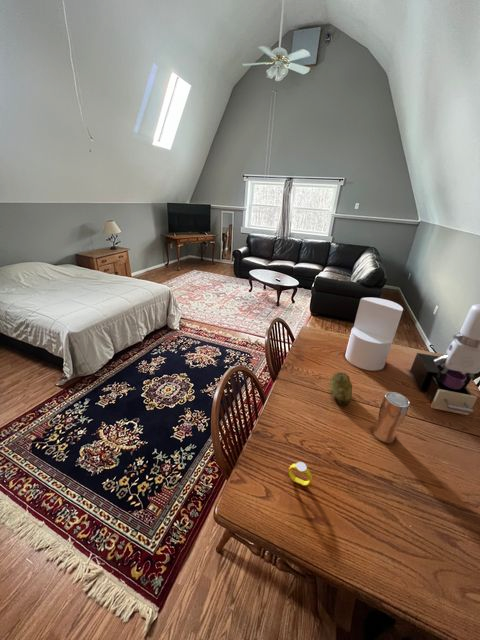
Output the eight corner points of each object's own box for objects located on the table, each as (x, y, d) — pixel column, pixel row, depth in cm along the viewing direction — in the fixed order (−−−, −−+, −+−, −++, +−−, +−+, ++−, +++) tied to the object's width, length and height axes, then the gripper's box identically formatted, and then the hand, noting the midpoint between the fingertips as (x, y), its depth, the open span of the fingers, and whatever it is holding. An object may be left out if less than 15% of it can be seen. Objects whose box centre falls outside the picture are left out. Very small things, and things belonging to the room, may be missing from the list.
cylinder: (355, 346, 137) (369, 294, 125) (390, 361, 126) (409, 306, 114) (338, 358, 126) (351, 303, 115) (375, 375, 115) (393, 316, 103)
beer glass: (391, 448, 82) (407, 411, 75) (368, 435, 86) (381, 398, 79) (398, 435, 86) (413, 399, 80) (375, 423, 90) (388, 388, 84)
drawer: (474, 424, 91) (484, 407, 87) (436, 416, 93) (444, 399, 90) (452, 392, 106) (460, 376, 103) (420, 385, 109) (427, 370, 105)
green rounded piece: (325, 402, 98) (329, 385, 95) (330, 383, 109) (334, 367, 106) (348, 410, 95) (353, 393, 92) (351, 389, 106) (356, 373, 102)
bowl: (456, 380, 100) (461, 370, 98) (465, 392, 94) (470, 381, 92) (436, 376, 102) (440, 366, 100) (443, 388, 96) (448, 377, 94)
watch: (311, 482, 71) (314, 467, 68) (308, 491, 68) (312, 476, 66) (289, 471, 73) (292, 456, 71) (286, 480, 71) (288, 465, 68)
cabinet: (456, 398, 104) (466, 378, 100) (419, 391, 107) (428, 371, 103) (442, 376, 116) (450, 358, 112) (410, 371, 119) (417, 352, 115)
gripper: (446, 341, 89) (427, 384, 97) (508, 350, 85) (484, 394, 93) (438, 331, 95) (421, 372, 103) (495, 339, 91) (473, 381, 99)
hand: (451, 382), depth 98 cm, fingers closed on bowl, 6 cm apart
